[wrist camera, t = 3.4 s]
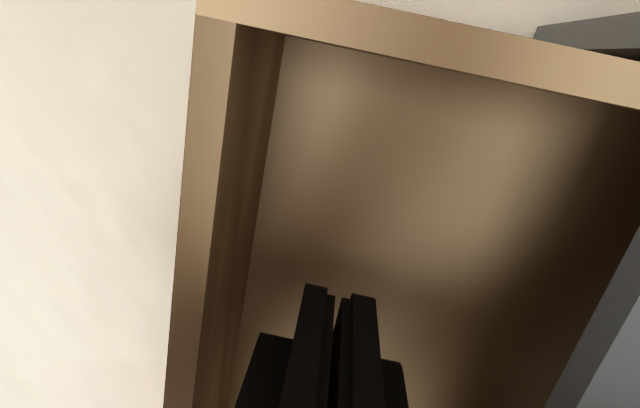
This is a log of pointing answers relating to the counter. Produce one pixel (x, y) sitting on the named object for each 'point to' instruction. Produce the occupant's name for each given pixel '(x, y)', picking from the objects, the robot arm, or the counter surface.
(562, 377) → the sleeve
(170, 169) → the counter surface
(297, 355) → the robot arm
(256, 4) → the tray
